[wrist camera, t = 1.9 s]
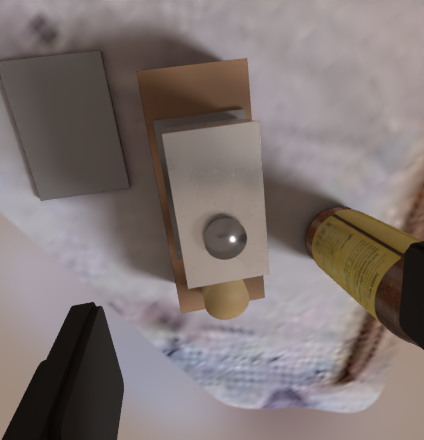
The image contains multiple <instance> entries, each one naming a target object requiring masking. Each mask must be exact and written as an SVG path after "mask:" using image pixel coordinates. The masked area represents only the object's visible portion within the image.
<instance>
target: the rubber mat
mask: <svg viewBox="0 0 424 440" xmlns="http://www.w3.org/2000/svg"><path fill="white" fill-rule="evenodd" d="M0 77H1V80H2V83H3V86H4V89H5V92H6V95H7V98H8V101H9V104H10V107H11V110H12V114H13V117H14V120H15V123H16V126H17V129H18V132H19V135H20V138H21V141H22V144H23V148H24V151H25V154H26V157H27V160H28V163H29V166H30V169H31V172H32V175H33V178H34V181H35V185H36V188H37V191H38V194H39V197H40V200H41V201H44V200H50V199H57V198H64V197H70V196H77V195H84V194H90V193H97V192H104V191H110V190H117V189H124V188H130V183H129V178H128V174H127V169H126V164H125V160H124V155H123V151H122V146H121V141H120V137H119V132H118V128H117V123H116V118H115V114H114V109H113V105H112V100H111V95H110V91H109V86H108V81H107V77H106V72H105V68H104V63H103V58H102V54H101V51H100V50H98V51H89V52H80V53H71V54H62V55H53V56H44V57H35V58H26V59H17V60H8V61H0Z"/></svg>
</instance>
